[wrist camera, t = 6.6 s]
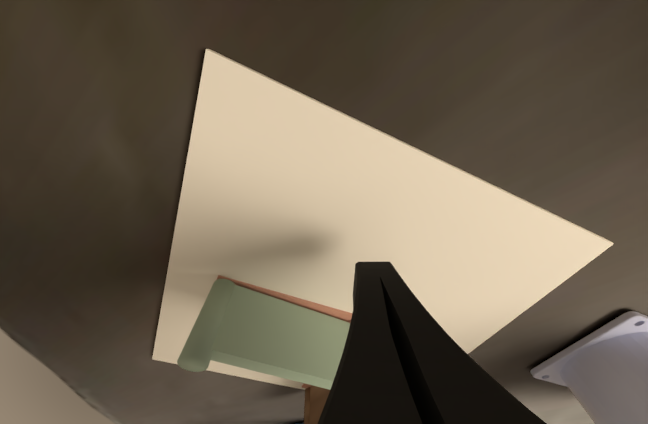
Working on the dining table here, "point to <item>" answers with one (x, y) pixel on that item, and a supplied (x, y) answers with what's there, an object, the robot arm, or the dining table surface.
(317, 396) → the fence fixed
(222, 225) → the card
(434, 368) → the robot arm
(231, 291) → the fence gate
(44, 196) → the dining table surface
